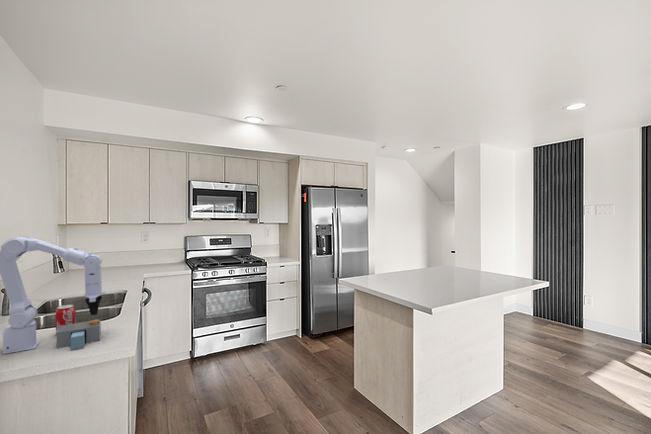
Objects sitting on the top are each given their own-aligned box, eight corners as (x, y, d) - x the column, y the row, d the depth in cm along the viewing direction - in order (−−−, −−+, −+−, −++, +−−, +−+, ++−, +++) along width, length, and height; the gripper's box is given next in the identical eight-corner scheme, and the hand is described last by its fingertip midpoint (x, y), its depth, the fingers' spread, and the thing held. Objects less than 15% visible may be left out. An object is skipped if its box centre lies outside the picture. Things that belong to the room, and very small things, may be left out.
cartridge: (71, 350, 128) (70, 337, 128) (74, 338, 139) (74, 327, 139) (83, 347, 130) (83, 335, 130) (86, 336, 141) (86, 325, 141)
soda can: (58, 337, 141) (57, 309, 140) (53, 333, 145) (52, 306, 144) (78, 332, 146) (77, 305, 146) (73, 328, 150) (72, 303, 150)
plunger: (89, 333, 139) (89, 322, 138) (90, 330, 141) (90, 320, 141) (98, 331, 140) (98, 321, 140) (98, 329, 143) (98, 319, 143)
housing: (56, 348, 130) (56, 332, 130) (60, 340, 138) (59, 325, 138) (99, 340, 138) (99, 325, 137) (100, 333, 145) (100, 319, 145)
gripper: (103, 285, 136) (104, 317, 136) (105, 278, 148) (106, 308, 149) (82, 287, 132) (83, 320, 133) (86, 280, 145) (86, 311, 145)
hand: (94, 314), depth 140 cm, fingers closed
